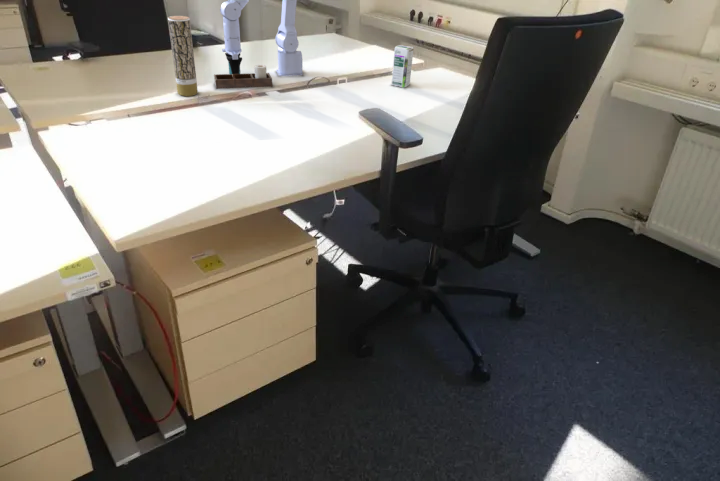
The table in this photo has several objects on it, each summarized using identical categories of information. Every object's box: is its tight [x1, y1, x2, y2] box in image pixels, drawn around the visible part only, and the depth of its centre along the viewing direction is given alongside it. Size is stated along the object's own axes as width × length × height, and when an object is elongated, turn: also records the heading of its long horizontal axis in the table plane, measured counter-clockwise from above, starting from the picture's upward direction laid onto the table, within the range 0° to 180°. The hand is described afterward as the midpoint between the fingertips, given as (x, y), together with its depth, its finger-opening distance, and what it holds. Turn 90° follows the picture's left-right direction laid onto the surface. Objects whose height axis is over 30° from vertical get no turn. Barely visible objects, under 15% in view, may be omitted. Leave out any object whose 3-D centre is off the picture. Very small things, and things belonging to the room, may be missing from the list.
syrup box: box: [390, 44, 414, 88], centre depth 206 cm, size 6×6×14 cm
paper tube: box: [167, 15, 199, 97], centre depth 181 cm, size 7×7×25 cm
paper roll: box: [227, 61, 241, 74], centre depth 204 cm, size 4×4×6 cm
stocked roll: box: [254, 64, 267, 78], centre depth 198 cm, size 4×4×6 cm
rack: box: [213, 72, 273, 90], centre depth 198 cm, size 20×7×4 cm, turn 107°
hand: (234, 74), depth 205 cm, fingers closed on paper roll, 4 cm apart
